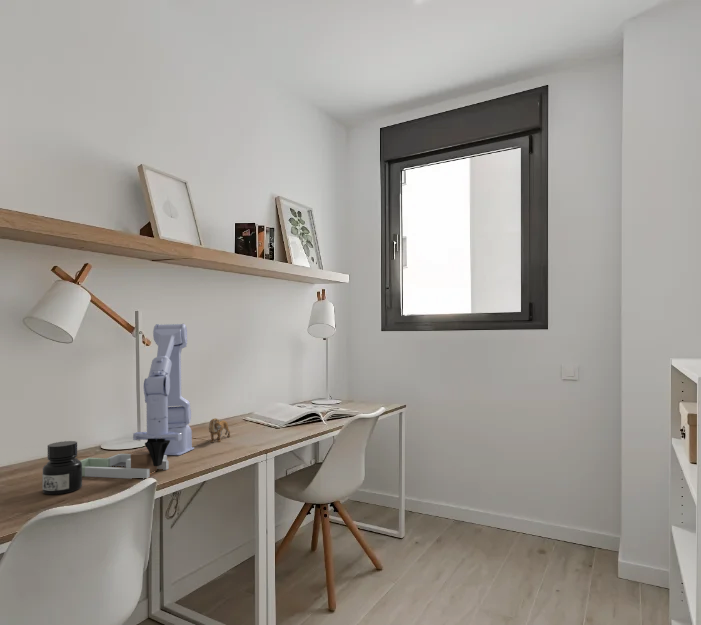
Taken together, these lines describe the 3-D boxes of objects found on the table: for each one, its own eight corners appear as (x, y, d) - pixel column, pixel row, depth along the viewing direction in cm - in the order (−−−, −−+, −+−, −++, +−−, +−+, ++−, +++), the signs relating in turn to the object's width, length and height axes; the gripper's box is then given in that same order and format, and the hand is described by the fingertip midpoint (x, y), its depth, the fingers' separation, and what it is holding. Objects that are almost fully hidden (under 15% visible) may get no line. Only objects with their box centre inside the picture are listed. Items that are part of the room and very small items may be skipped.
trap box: (102, 460, 159) (102, 453, 160) (179, 463, 153) (179, 455, 153) (62, 475, 144) (62, 466, 144) (146, 479, 137) (146, 470, 137)
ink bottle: (33, 493, 127) (33, 446, 128) (64, 483, 135) (64, 439, 136) (60, 497, 124) (60, 448, 124) (90, 486, 132) (90, 441, 132)
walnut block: (141, 470, 146) (141, 450, 147) (156, 471, 145) (156, 450, 146) (130, 475, 142) (130, 454, 142) (146, 476, 140) (146, 455, 141)
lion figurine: (220, 444, 179) (220, 419, 180) (206, 444, 180) (205, 419, 180) (232, 435, 194) (231, 412, 194) (218, 435, 194) (218, 412, 195)
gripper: (126, 419, 141) (126, 468, 140) (171, 420, 138) (172, 470, 137) (141, 415, 148) (142, 461, 147) (185, 416, 144) (186, 463, 144)
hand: (157, 465), depth 143 cm, fingers closed
